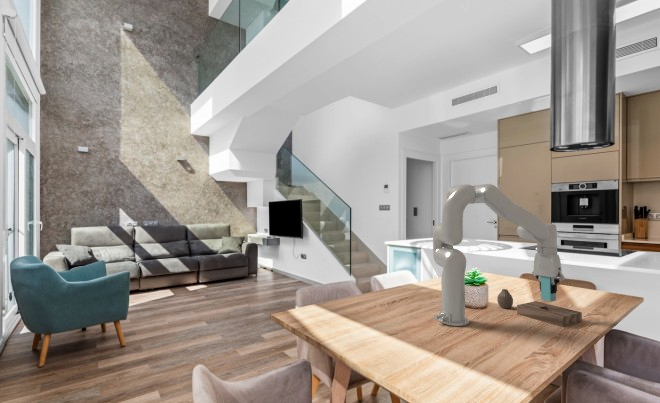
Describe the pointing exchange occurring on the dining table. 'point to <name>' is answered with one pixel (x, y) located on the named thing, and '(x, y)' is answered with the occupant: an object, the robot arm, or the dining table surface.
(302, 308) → the dining table surface
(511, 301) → the vase
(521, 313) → the socket block
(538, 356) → the dining table surface
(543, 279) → the peg
